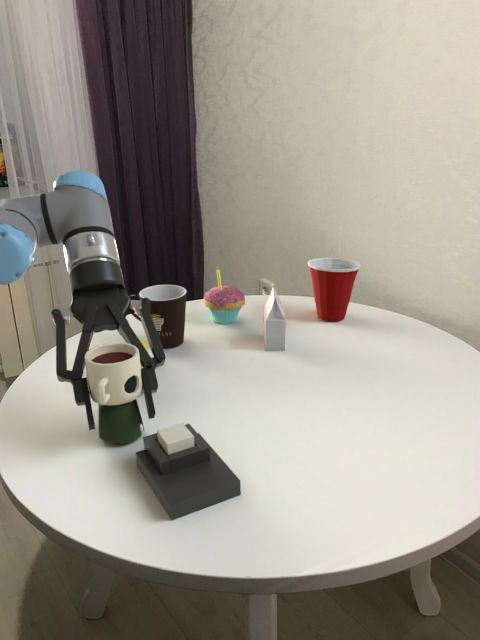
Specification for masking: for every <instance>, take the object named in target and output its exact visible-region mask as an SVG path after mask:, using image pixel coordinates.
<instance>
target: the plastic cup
mask: <svg viewBox="0 0 480 640" xmlns="http://www.w3.org/2000/svg"><path fill="white" fill-rule="evenodd" d="M306 262H307V265H308V267H309V273H310V276H311V277H310V278H311V281H312V290H313V297H314V299H313V300H314V303H315V310H316V311H315V312H316V315H317V318H318V319H319V320H320V321H323V322H326V323H339V322H343V321H344V320H345V318H346V315H347V313H348V312H347V311H348V307H349V305H350V300H351V296H352V293H353V288H354V284H355V281H356V277H357V276H358V275H357V274H358V272H359V270H360V269H361V268H362V264H361V263H360V262H359V261H355V260H353V259H347V258H340V257H317V258H312V259H309V260H308V261H306Z"/></svg>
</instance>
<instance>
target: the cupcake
mask: <svg viewBox="0 0 480 640" xmlns="http://www.w3.org/2000/svg"><path fill="white" fill-rule="evenodd" d="M215 271H216V279H217V286H213V287H212V288H209V290H207V291H206V292H205V294H204V295H203V305H204V306H205V308H208V310H209V311H210V313H211V314H210V315H211V316H212V320H213V321H214V322H215V323H217V324H220V325H228V324H232V323H235V322H236V321H237V320H238V316H239V313H240V311H241V309H242V307H243V306H245V304H246V296H245V293H244V292H243V291H242V290H240V289H239V288H237V287H235V286H234V285H230V284H226V285H225V284H222V278H221V271H220V269H219V267H218V265H217V266H216V270H215Z"/></svg>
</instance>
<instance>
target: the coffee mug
mask: <svg viewBox="0 0 480 640" xmlns="http://www.w3.org/2000/svg"><path fill="white" fill-rule="evenodd" d="M187 292H188V291H187V289H186V288H185V287H183V286H181V285H176V284H156V285H151V286H147V287H145V288H143V289H141V290H140V291H139V293H138V295H137V294H131V295H128V296H129V297H130V298H131V299H135V300H141V301H142V299H143V298H148V299H149V300H150V314H151V317H152V319H153V322H154V325H155V328H156V330H157V333H158V336H159V339H160V341H161V344H162V347H163V350H171V349H176V348H178V347H181V346H182V345H183V344H184V341H185V327H186V310H187ZM128 313H130V314H131V315H132V316H133V317H134V318H135V319H136V320H137V321H139V322H140V323H141V316H138V315H136V313H135V311H134V310H133V309H130V310H129V312H128Z"/></svg>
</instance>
